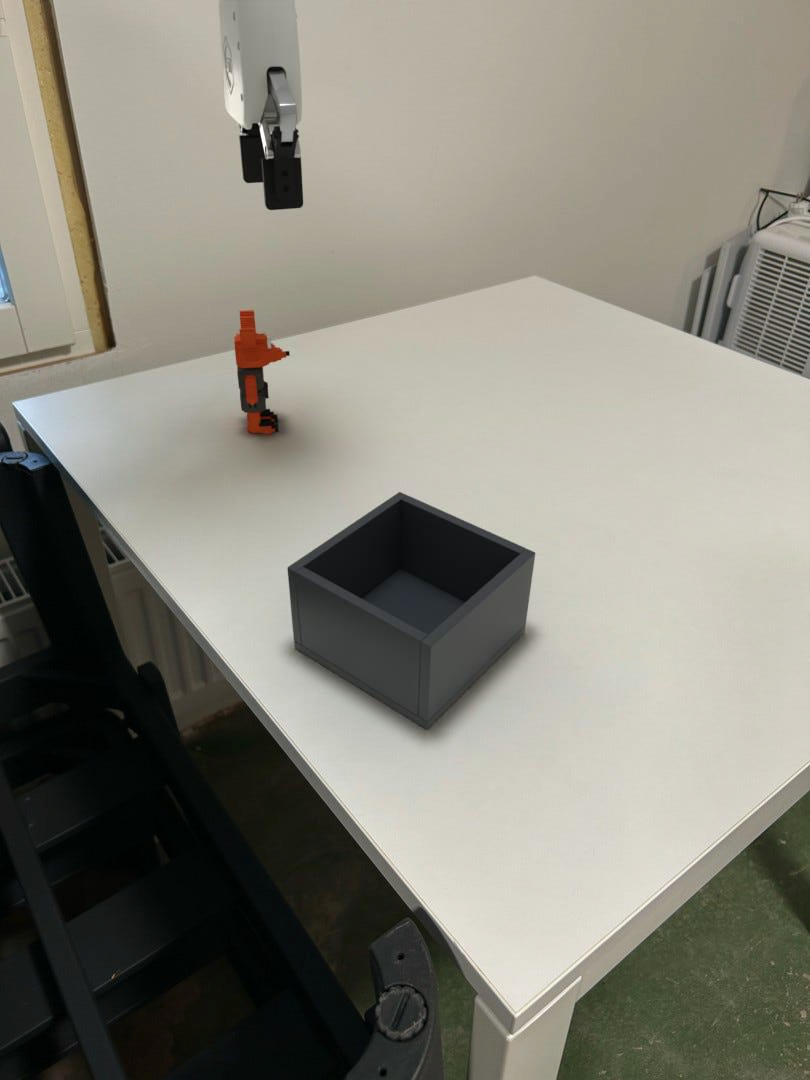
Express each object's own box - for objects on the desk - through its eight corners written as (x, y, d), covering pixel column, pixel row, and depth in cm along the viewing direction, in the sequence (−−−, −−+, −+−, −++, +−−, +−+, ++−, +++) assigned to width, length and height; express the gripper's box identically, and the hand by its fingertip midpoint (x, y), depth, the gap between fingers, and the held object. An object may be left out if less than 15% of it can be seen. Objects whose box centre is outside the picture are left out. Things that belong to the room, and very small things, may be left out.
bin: (294, 648, 62) (286, 567, 58) (398, 568, 70) (399, 491, 66) (427, 730, 56) (430, 646, 51) (525, 632, 64) (535, 552, 59)
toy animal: (296, 441, 87) (288, 333, 80) (244, 444, 87) (231, 336, 80) (293, 406, 94) (285, 303, 87) (244, 409, 93) (232, 306, 86)
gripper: (190, -43, 69) (214, 175, 79) (225, -37, 56) (249, 223, 66) (278, -42, 71) (290, 170, 81) (332, -35, 58) (339, 216, 68)
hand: (272, 194), depth 74 cm, fingers open, 9 cm apart
